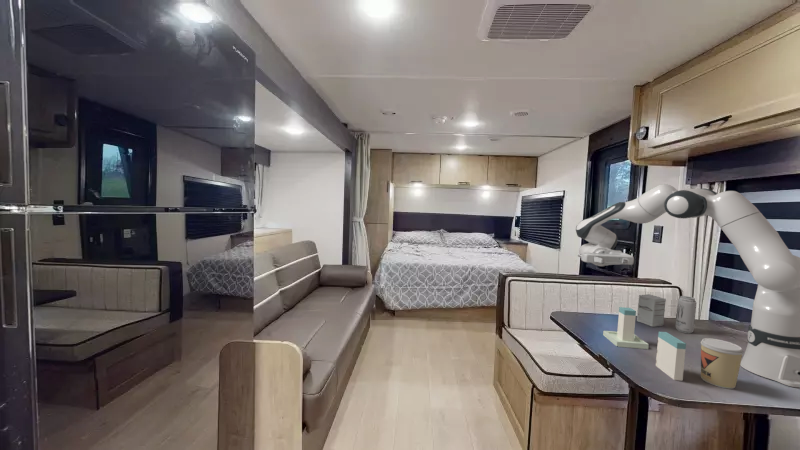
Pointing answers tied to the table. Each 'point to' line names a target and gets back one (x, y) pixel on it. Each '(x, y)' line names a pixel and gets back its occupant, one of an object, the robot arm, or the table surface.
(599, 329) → the table surface
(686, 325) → the energy drink can
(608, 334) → the tray
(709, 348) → the coffee cup
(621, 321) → the white teal-topped block
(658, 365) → the teal and white box
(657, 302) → the supplement box
